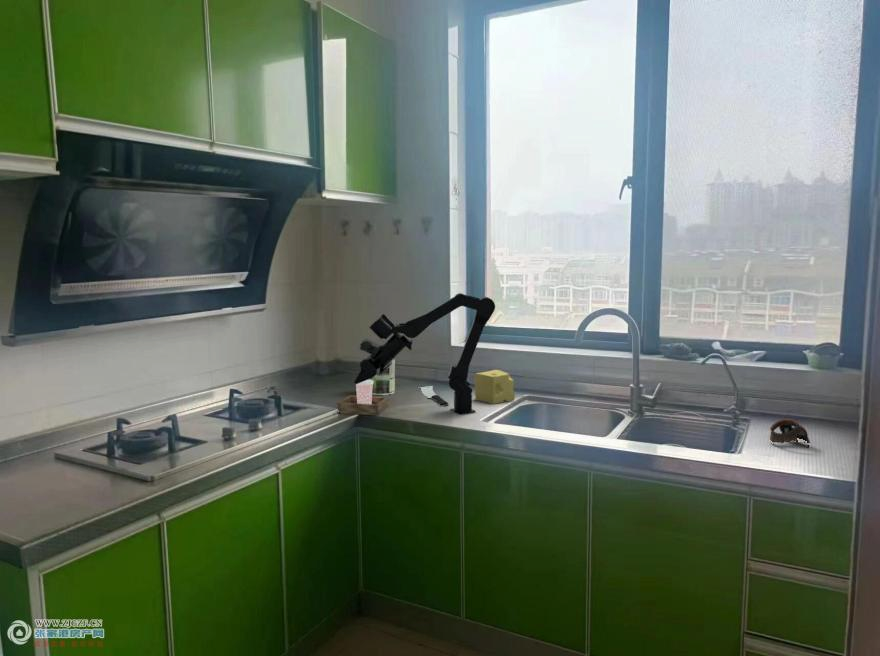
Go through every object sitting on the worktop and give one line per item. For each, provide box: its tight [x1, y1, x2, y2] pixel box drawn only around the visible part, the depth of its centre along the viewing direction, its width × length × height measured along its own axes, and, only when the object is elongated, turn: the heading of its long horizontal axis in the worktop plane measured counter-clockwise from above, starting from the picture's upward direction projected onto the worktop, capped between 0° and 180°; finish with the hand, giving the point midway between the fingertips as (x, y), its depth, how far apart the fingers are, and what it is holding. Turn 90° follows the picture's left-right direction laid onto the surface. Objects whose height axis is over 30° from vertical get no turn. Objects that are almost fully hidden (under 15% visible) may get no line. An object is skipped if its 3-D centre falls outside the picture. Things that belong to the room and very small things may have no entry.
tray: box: [336, 394, 390, 416], centre depth 214 cm, size 14×12×3 cm
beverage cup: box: [355, 380, 374, 404], centre depth 214 cm, size 6×6×14 cm
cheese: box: [474, 369, 516, 405], centre depth 230 cm, size 10×11×10 cm
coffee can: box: [367, 354, 396, 396], centre depth 241 cm, size 10×10×14 cm
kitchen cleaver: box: [419, 385, 449, 407], centre depth 235 cm, size 31×2×10 cm
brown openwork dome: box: [769, 418, 811, 444], centre depth 177 cm, size 12×10×8 cm
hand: (359, 380), depth 214 cm, fingers open, 9 cm apart
